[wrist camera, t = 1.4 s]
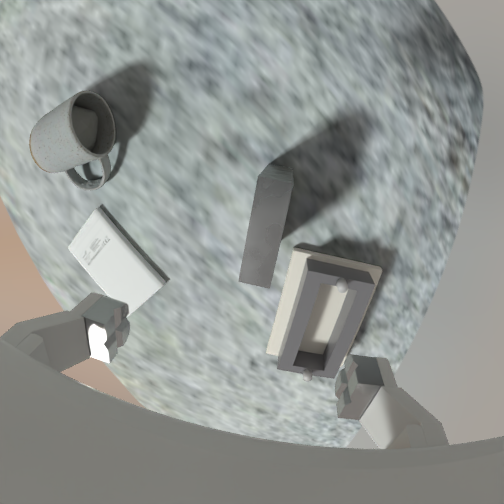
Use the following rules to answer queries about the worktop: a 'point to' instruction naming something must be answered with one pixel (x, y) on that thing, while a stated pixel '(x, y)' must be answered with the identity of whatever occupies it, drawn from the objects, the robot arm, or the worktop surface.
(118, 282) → the external hard drive
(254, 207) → the block
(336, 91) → the worktop surface
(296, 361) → the dock
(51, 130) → the ceramic mug
